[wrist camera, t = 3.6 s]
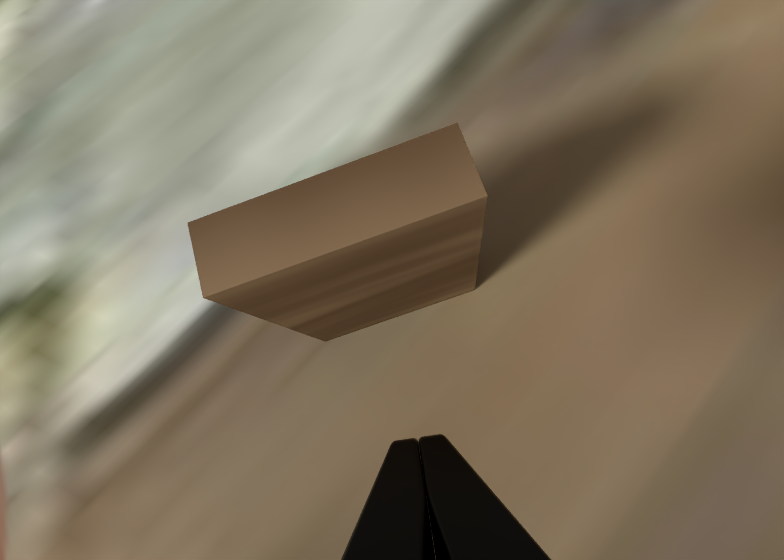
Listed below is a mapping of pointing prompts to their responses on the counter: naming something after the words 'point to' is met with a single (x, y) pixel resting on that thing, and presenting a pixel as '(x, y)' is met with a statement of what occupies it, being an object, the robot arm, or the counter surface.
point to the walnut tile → (351, 240)
